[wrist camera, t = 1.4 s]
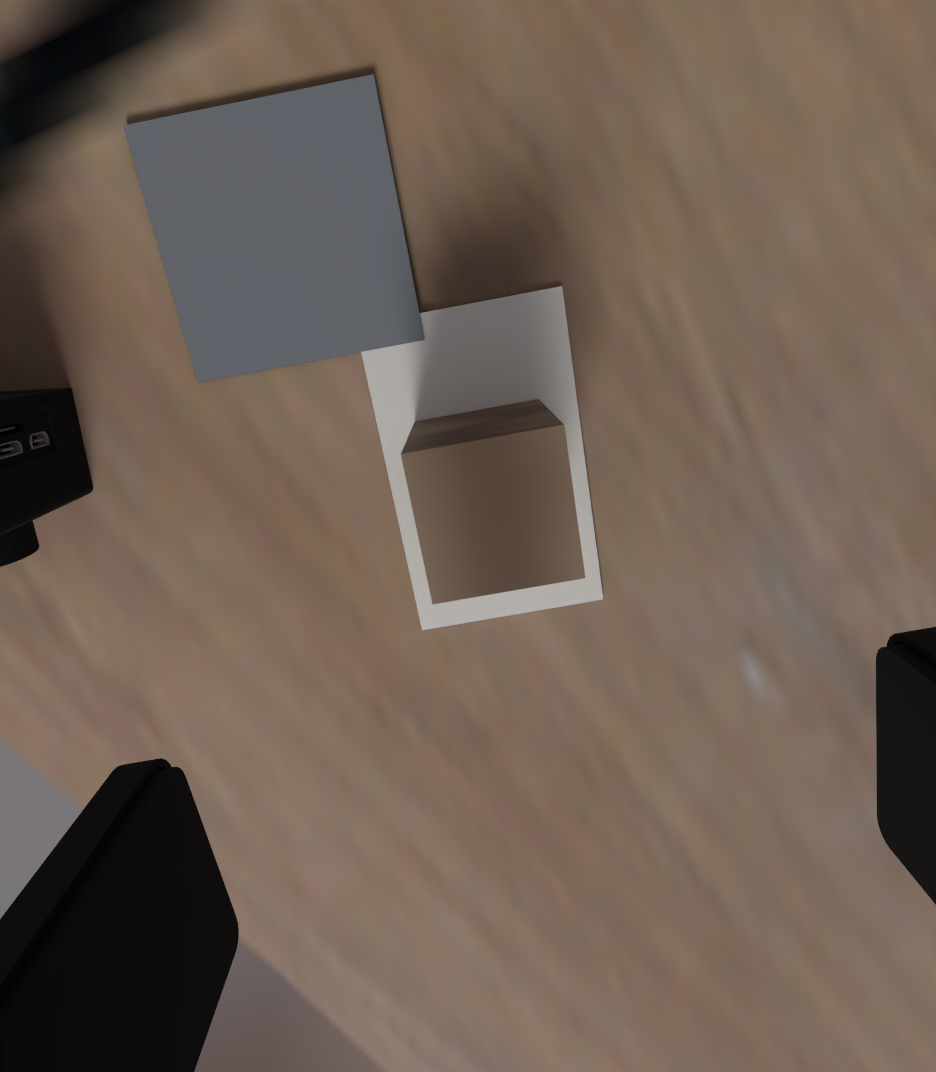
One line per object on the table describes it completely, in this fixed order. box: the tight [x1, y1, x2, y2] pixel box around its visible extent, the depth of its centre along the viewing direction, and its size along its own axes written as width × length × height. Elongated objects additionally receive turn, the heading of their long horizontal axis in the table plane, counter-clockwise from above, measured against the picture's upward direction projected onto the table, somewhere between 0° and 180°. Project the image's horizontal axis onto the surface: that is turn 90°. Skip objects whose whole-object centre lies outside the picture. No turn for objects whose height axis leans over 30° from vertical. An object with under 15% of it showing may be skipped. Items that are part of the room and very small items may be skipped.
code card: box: [361, 286, 603, 630], centre depth 28 cm, size 8×13×1 cm, turn 10°
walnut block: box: [401, 399, 585, 604], centre depth 25 cm, size 5×5×7 cm
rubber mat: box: [123, 74, 425, 382], centre depth 26 cm, size 9×9×1 cm
